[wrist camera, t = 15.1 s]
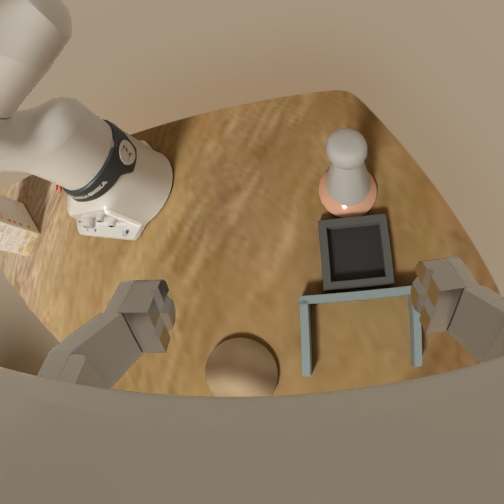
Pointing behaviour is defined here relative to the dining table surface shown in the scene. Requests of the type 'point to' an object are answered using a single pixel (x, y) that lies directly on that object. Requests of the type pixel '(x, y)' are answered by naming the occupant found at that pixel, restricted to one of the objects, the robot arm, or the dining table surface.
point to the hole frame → (355, 252)
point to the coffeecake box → (16, 227)
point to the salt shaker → (347, 167)
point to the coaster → (349, 210)
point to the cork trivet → (241, 369)
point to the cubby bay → (353, 296)
